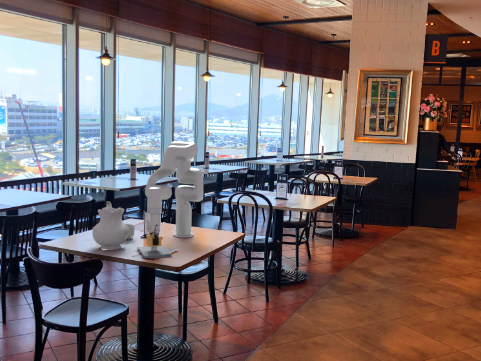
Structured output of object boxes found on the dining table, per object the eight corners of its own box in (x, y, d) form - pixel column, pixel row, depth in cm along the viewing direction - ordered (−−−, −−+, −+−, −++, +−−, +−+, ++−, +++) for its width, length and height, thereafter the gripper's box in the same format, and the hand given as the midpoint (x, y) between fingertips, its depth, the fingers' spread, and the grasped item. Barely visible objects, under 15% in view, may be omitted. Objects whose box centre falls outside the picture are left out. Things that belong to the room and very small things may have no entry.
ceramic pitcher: (87, 246, 264) (83, 203, 260) (120, 240, 275) (117, 198, 271) (100, 256, 246) (97, 210, 242) (135, 248, 258) (132, 204, 253)
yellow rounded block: (146, 243, 252) (146, 234, 251) (158, 243, 255) (158, 234, 254) (149, 246, 246) (149, 237, 246) (161, 245, 249) (161, 236, 248)
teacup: (132, 236, 287) (132, 223, 287) (136, 240, 278) (136, 226, 277) (109, 237, 281) (109, 224, 281) (112, 242, 272) (112, 228, 271)
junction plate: (137, 249, 256) (137, 241, 256) (162, 248, 262) (162, 239, 262) (144, 258, 240) (144, 249, 240) (171, 256, 246) (171, 247, 245)
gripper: (143, 208, 255) (143, 240, 257) (151, 213, 239) (150, 248, 241) (157, 207, 258) (156, 239, 260) (165, 213, 242) (165, 247, 244)
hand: (153, 243), depth 250 cm, fingers closed on yellow rounded block, 6 cm apart
